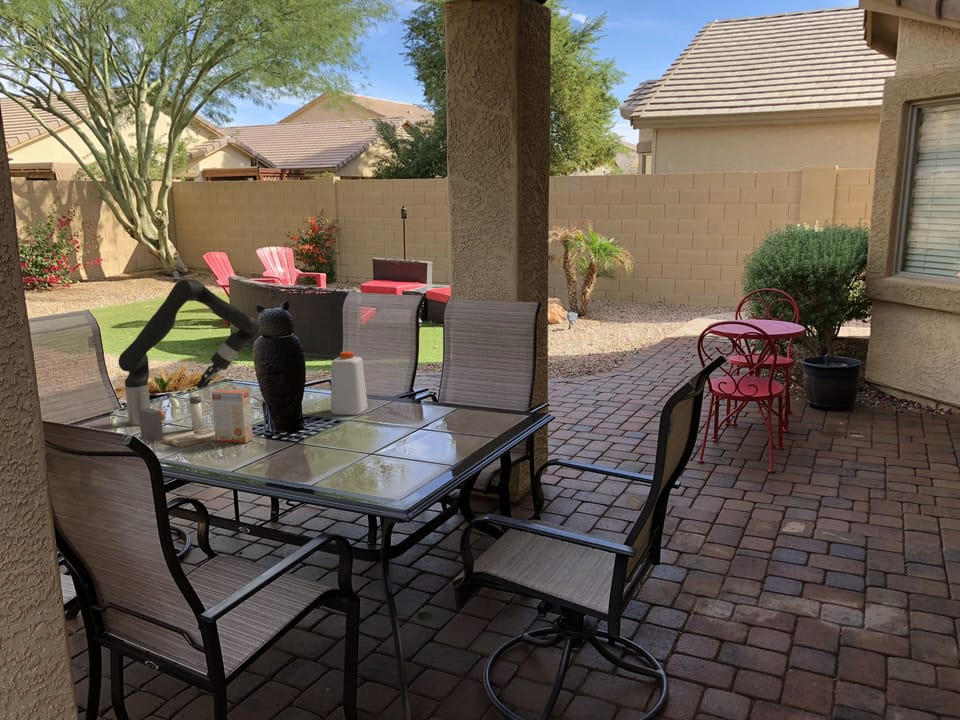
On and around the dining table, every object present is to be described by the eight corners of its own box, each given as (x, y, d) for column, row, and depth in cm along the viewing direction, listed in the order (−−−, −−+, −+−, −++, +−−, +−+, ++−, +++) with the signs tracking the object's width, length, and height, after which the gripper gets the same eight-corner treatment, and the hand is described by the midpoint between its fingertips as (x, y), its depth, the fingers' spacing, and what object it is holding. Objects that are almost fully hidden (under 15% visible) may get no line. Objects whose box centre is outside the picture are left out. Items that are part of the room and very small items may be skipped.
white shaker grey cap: (190, 429, 322) (187, 398, 320) (199, 427, 326) (196, 395, 323) (196, 431, 320) (193, 399, 317) (205, 428, 323) (203, 397, 321)
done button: (155, 420, 312) (154, 410, 312) (159, 419, 314) (158, 409, 313) (161, 421, 310) (160, 411, 309) (165, 420, 311) (164, 410, 310)
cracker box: (253, 439, 306) (250, 389, 302) (245, 444, 300) (241, 393, 297) (224, 437, 310) (219, 388, 306) (215, 441, 304) (210, 391, 300)
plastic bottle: (360, 416, 340) (357, 355, 335) (328, 415, 342) (324, 355, 337) (370, 408, 355) (367, 349, 349) (339, 407, 357) (336, 349, 352)
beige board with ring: (162, 441, 305) (162, 437, 305) (206, 430, 321) (206, 426, 320) (181, 447, 297) (181, 443, 296) (225, 435, 312) (225, 432, 312)
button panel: (141, 437, 311) (138, 409, 309) (151, 435, 315) (148, 407, 312) (154, 441, 305) (151, 413, 303) (164, 439, 309) (161, 411, 306)
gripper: (221, 349, 320) (197, 379, 320) (213, 350, 306) (188, 382, 305) (235, 360, 321) (211, 390, 320) (228, 362, 307) (203, 393, 306)
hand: (200, 386), depth 313 cm, fingers open, 8 cm apart
